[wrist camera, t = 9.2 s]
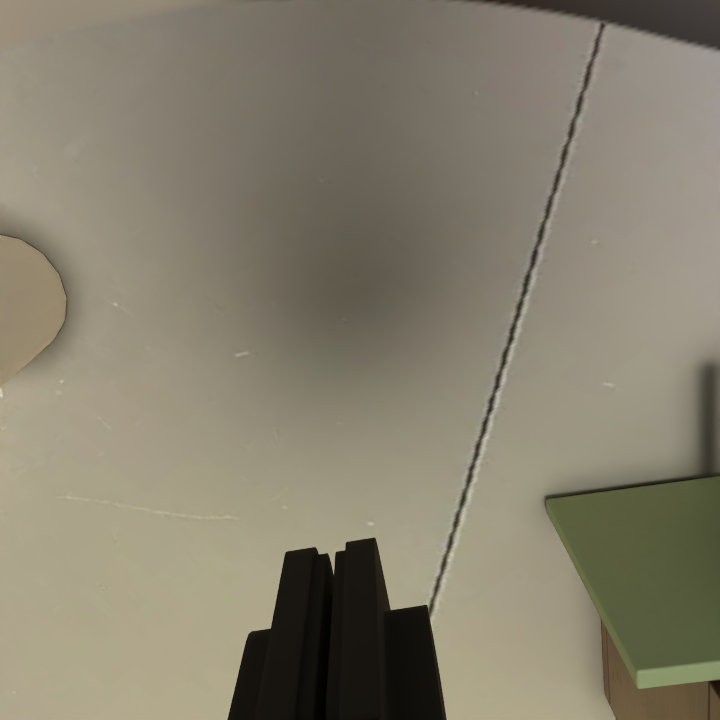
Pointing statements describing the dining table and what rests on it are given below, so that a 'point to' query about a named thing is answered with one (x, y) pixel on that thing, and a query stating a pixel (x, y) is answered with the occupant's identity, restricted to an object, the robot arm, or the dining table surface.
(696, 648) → the sliding door
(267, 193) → the dining table surface
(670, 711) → the cupboard
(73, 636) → the dining table surface
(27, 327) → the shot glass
